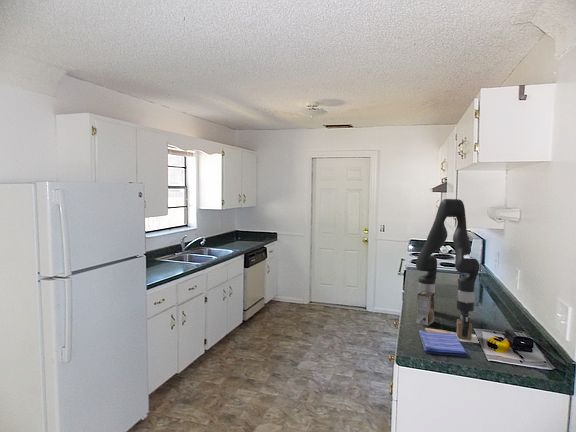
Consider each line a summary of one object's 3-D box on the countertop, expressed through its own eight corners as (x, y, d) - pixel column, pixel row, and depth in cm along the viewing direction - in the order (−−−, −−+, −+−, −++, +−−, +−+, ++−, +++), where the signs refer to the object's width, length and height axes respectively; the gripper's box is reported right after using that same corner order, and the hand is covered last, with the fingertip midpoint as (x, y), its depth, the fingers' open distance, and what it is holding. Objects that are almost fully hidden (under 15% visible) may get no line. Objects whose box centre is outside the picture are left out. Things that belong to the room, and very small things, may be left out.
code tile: (449, 331, 194) (449, 331, 194) (475, 335, 190) (475, 334, 190) (451, 340, 182) (451, 339, 182) (479, 343, 179) (479, 343, 178)
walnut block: (456, 333, 190) (456, 319, 190) (469, 334, 188) (470, 320, 188) (457, 337, 184) (458, 322, 184) (471, 339, 182) (472, 324, 182)
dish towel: (425, 354, 165) (425, 347, 165) (418, 333, 188) (418, 328, 188) (468, 358, 162) (469, 351, 161) (455, 336, 185) (455, 331, 185)
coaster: (424, 329, 197) (424, 327, 197) (448, 331, 194) (448, 330, 194) (425, 335, 187) (425, 334, 187) (450, 338, 184) (450, 337, 184)
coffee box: (422, 319, 213) (423, 290, 212) (434, 322, 209) (435, 292, 208) (415, 323, 206) (417, 293, 205) (428, 326, 202) (429, 295, 201)
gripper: (455, 295, 193) (453, 328, 194) (458, 302, 180) (457, 338, 180) (471, 297, 191) (470, 330, 192) (476, 304, 177) (474, 340, 178)
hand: (463, 334), depth 186 cm, fingers closed on walnut block, 6 cm apart
